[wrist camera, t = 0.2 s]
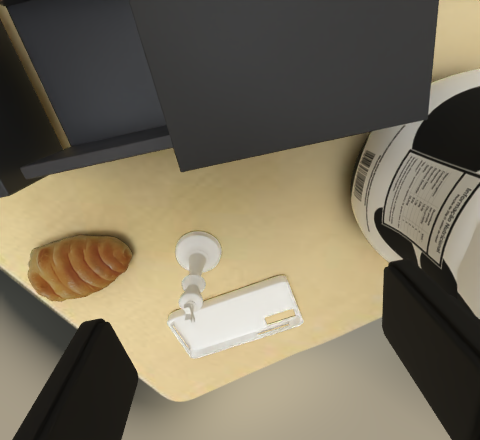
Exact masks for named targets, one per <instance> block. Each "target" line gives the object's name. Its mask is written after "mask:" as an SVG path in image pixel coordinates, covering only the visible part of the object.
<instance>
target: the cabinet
mask: <svg viewBox="0 0 480 440" xmlns="http://www.w3.org/2000/svg"><path fill="white" fill-rule="evenodd" d="M128 1H129V4H130V7H131V11H132V14H133V17H134V21H135V24H136V27H137V30H138V34H139V37H140V40H141V43H142V47H143V50H144V53H145V56H146V60H147V63H148V66H149V70H150V73H151V76H152V79H153V83H154V86H155V89H156V92H157V96H158V99H159V102H160V106H161V109H162V112H163V115H164V119H165V122H166V125H167V128H168V132H169V135H170V138H171V141H172V145H173V148H174V151H175V155H176V158H177V161H178V164H179V168H180V171H181V172H185V171H189V170H194V169H199V168H203V167H208V166H213V165H217V164H222V163H226V162H231V161H236V160H240V159H245V158H250V157H254V156H259V155H264V154H268V153H273V152H278V151H282V150H287V149H292V148H296V147H301V146H306V145H310V144H315V143H320V142H324V141H329V140H334V139H338V138H343V137H348V136H352V135H357V134H362V133H366V132H371V131H376V130H380V129H385V128H390V127H394V126H399V125H403V124H408V123H413V122H417V121H422V120H427V119H428V111H429V101H430V90H431V79H432V69H433V58H434V47H435V37H436V26H437V15H438V5H439V0H128Z"/></svg>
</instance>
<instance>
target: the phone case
mask: <svg viewBox="0 0 480 440" xmlns="http://www.w3.org/2000/svg"><path fill="white" fill-rule="evenodd" d="M290 309H293V310H294V312H295V316H292V317H289V318H286V319H283V320H280V321H277V322H274V323H271V324H267V323H266V321H265V319H264V318H265V317H268V316H271V315H274V314H277V313H280V312H283V311H286V310H290ZM193 314H194V317H195V323H192V324H186V322H185V316H186V313H185V311H184V310H182V309H179V310H176V311H174V312H172V313H170V314H169V317H168V321H167V325H168V326H169V328H170V329H171V330H172V332H173V333H174V335H175V336H176V337H177V339H178V340H179V342H180V343H181V345H182V346H183V347H184V349H185V350H186V352H187V353H188V355H189V356H190V357H191V358H200V357H203V356H207V355H210V354H213V353H216V352H219V351H222V350H225V349H229V348H232V347H235V346H238V345H241V344H244V343H247V342H251V341H254V340H257V339H260V338H263V337H266V336H269V335H273V334H276V333H279V332H282V331H285V330H288V329H291V328H295V327H298V326H300V325H301V324H302V323H303V319H302V316H301V313H300V311H299V308H298V305H297V303H296V300H295V298H294V295H293V293H292V290H291V288H290V285H289V282H288V280H287V277H286V276H284V275H280V276H276V277H273V278H270V279H267V280H264V281H261V282H258V283H255V284H252V285H249V286H246V287H244V288H241V289H238V290H235V291H232V292H229V293H226V294H223V295H220V296H217V297H214V298H211V299H208V300H206V301H203V306H202V308H201V309H200V310H198V311H196V312H193ZM286 324H289V325H288V326H285V327H282V328H279V329H275V330H272V331H269V332H266V333H263V334H260V335H258V333H261V332H264V331H267V330H270V329H273V328H277V327H280V326H283V325H286ZM173 325H174V327H175V328H176V330H177V331H178V333H179V334H180V335H181V337H182V338H183V340H184V341H185V343H186V344H187V346H188V347H189V348H187V346H186V345H185V343H184V342H183V340H182V339H181V338H180V336H179V335H178V333H177V332H176V330H175V329H174V327H173Z"/></svg>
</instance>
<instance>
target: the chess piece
mask: <svg viewBox="0 0 480 440" xmlns="http://www.w3.org/2000/svg"><path fill="white" fill-rule="evenodd" d="M221 253H222V249H221V245H220V243H219V241H218V240H217V239H216V238H215V237H214V236H212V235H211V234H209V233H206V232H202V231H194V232H190V233H187V234H185V235H184V236H182V237H181V238H180V239H179V241H178V242H177V244H176V249H175V254H176V259H177V261H178V263H179V264H180V265H181V266H182V267H183V268H184V269H186V270H188V271H189V275H188V276H186V277H185V278H184V279H183V280H182V287H183V290H184V291H185V292H184V293H183V294H182V295H181V297H180V299H179V306H180V307H181V309H182V310H184V311H185V313H186V316H185V322H186V324H192V323H195V317H194V314H193V312H196V311H198V310H200V309H201V308H202V306H203V298H202V296H201V294H200V293H201V292H202V291H203V290H204V288H205V286H206V282H205V280H204V279H203V278H202V277H201V274H202V273H203V272H207V271H209V270H211V269H213V268H214V267H215V266H216V265H217V264H218V262H219V261H220V257H221Z"/></svg>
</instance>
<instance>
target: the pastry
mask: <svg viewBox="0 0 480 440" xmlns="http://www.w3.org/2000/svg"><path fill="white" fill-rule="evenodd" d="M131 258H132V252H131V251H130V249H129V247H128V246H127V245H126V244H125V243H124V242H122V241H121V240H119V239H118V238H116V237H110V236H98V237H97V236H88V235H78V236H76V237H69V238H65V239H62V240H60V241H56V242H52V243H50V244H48V245H46V246H41V247H37V248H34V249H33V250H32V252H31V254H30V261H29V271H28V278H29V281H30V283H31V285H32V286H33V288H34V289H35V290H36V292H37V293H38V294H39V295H42V296H44V297H46V298H48V299H49V300H51V301H61V302H62V301H64V300H66V299H75V298H81V297H86V296H88V295H90V294H92V293H94V292H97V291H99V290H102V289H103V288H105V287H107V286H108V285H109V284H110V283H112V282H113V281H114V280H115V279H116V278H117V277H118V276H119V275H120V274H122V273H123V272H125V271H126V270H127V268H128V264H129V262H130V260H131Z"/></svg>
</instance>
